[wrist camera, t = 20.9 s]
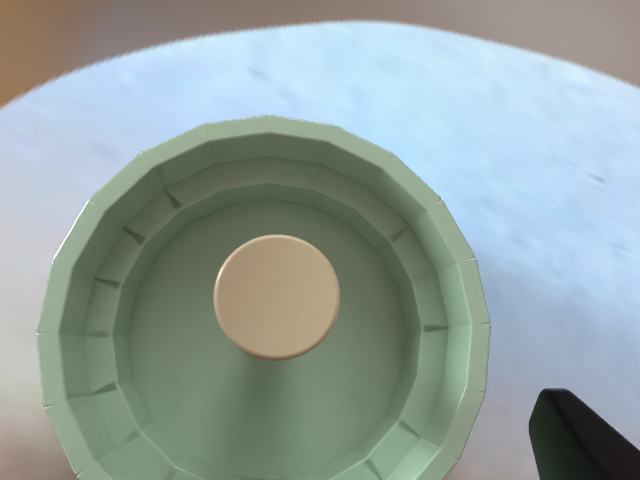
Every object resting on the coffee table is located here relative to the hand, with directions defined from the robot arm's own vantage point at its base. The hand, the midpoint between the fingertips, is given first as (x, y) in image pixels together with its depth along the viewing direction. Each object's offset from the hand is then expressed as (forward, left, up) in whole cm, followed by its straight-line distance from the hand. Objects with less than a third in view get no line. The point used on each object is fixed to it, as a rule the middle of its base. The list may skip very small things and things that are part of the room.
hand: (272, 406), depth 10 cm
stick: (+2, 0, -11) cm, 11 cm away
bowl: (+2, 0, -11) cm, 12 cm away
